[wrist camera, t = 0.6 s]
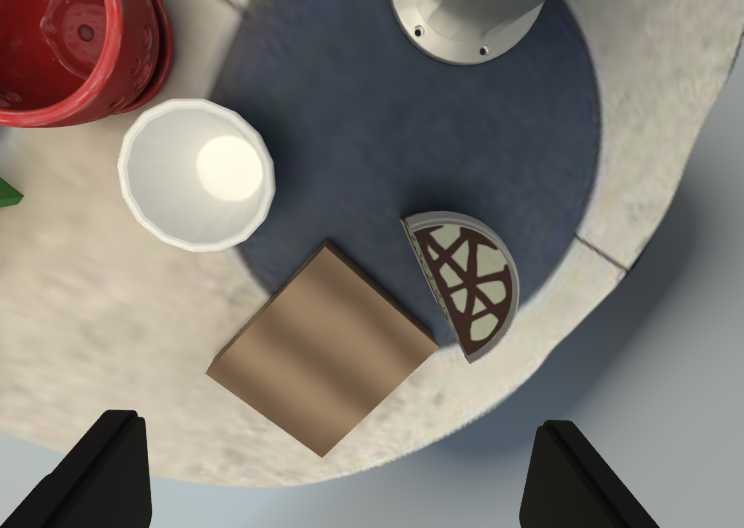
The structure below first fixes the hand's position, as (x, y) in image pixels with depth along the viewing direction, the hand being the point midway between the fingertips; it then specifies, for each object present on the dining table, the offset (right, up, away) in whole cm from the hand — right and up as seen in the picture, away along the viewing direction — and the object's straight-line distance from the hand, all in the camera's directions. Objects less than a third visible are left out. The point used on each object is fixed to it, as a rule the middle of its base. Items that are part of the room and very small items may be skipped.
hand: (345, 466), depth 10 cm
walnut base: (-4, -3, +32) cm, 32 cm away
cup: (-11, +13, +27) cm, 32 cm away
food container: (+8, +6, +30) cm, 32 cm away
